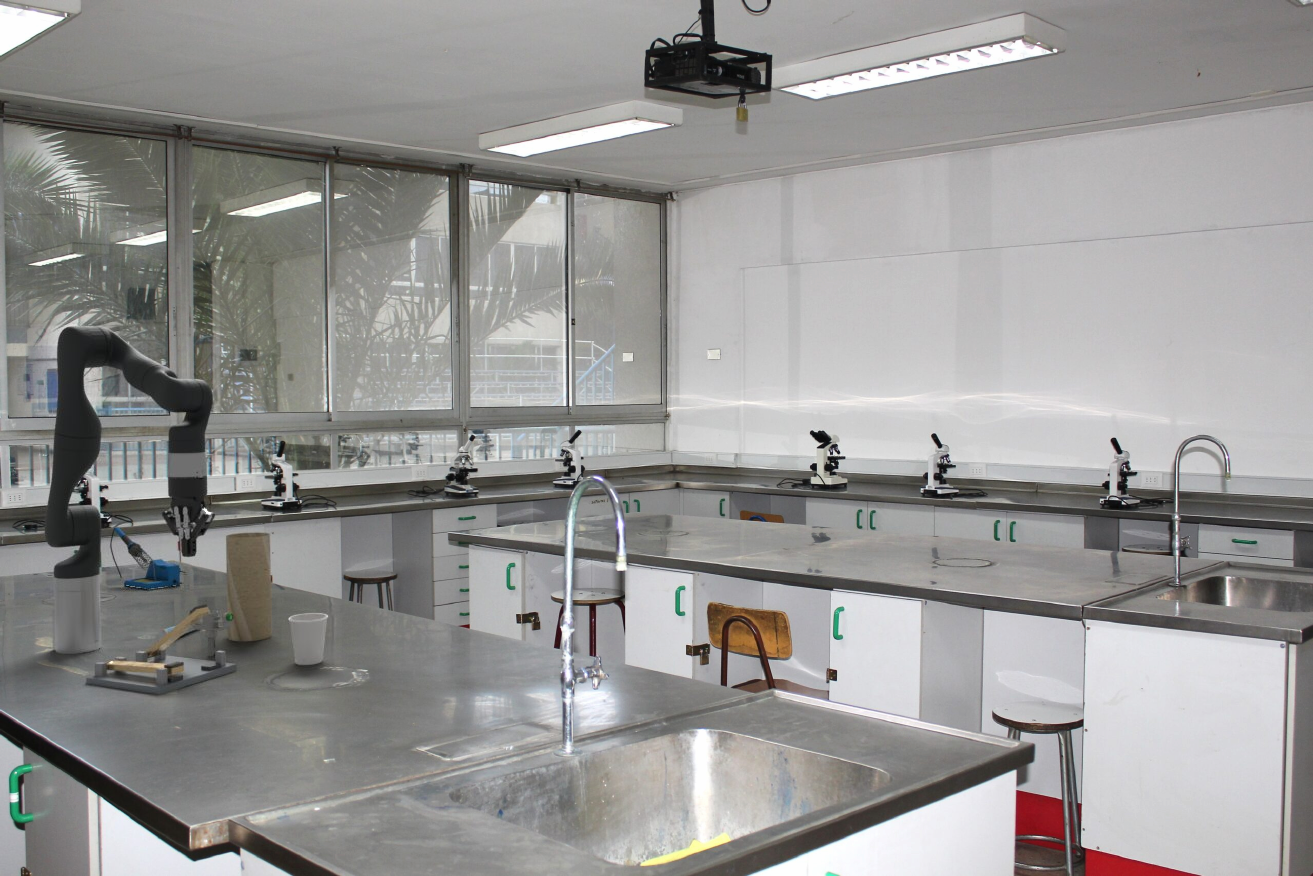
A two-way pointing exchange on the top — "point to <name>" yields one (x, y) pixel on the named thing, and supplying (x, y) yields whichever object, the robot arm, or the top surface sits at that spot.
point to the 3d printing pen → (166, 631)
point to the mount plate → (161, 673)
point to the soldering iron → (149, 567)
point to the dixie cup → (308, 637)
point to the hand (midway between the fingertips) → (189, 556)
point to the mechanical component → (213, 627)
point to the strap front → (145, 666)
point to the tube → (249, 586)
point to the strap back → (178, 630)
